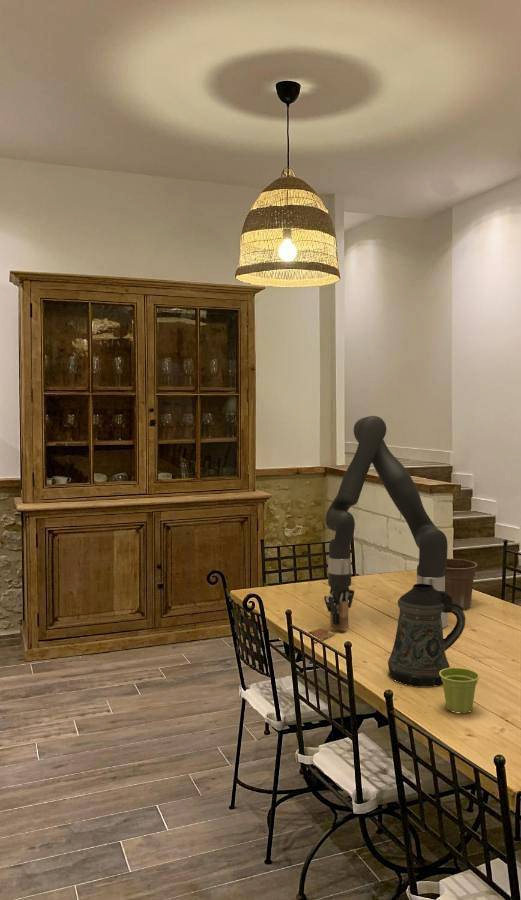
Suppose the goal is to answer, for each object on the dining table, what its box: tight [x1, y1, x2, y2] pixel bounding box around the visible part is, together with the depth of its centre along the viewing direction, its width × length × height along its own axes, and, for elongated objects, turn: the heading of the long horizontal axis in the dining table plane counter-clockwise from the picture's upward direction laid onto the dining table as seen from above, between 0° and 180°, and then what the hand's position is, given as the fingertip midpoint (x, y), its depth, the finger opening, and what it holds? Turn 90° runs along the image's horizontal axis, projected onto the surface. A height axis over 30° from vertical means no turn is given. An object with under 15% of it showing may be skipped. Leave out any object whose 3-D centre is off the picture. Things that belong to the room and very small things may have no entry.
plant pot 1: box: [445, 558, 478, 611], centre depth 270 cm, size 16×16×16 cm
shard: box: [308, 628, 335, 644], centre depth 234 cm, size 11×8×2 cm
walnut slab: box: [329, 600, 349, 631], centre depth 241 cm, size 5×3×9 cm, turn 47°
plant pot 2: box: [439, 667, 480, 714], centre depth 178 cm, size 9×9×9 cm
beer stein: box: [387, 583, 467, 688], centre depth 200 cm, size 16×19×25 cm
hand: (339, 622), depth 241 cm, fingers closed on walnut slab, 3 cm apart
